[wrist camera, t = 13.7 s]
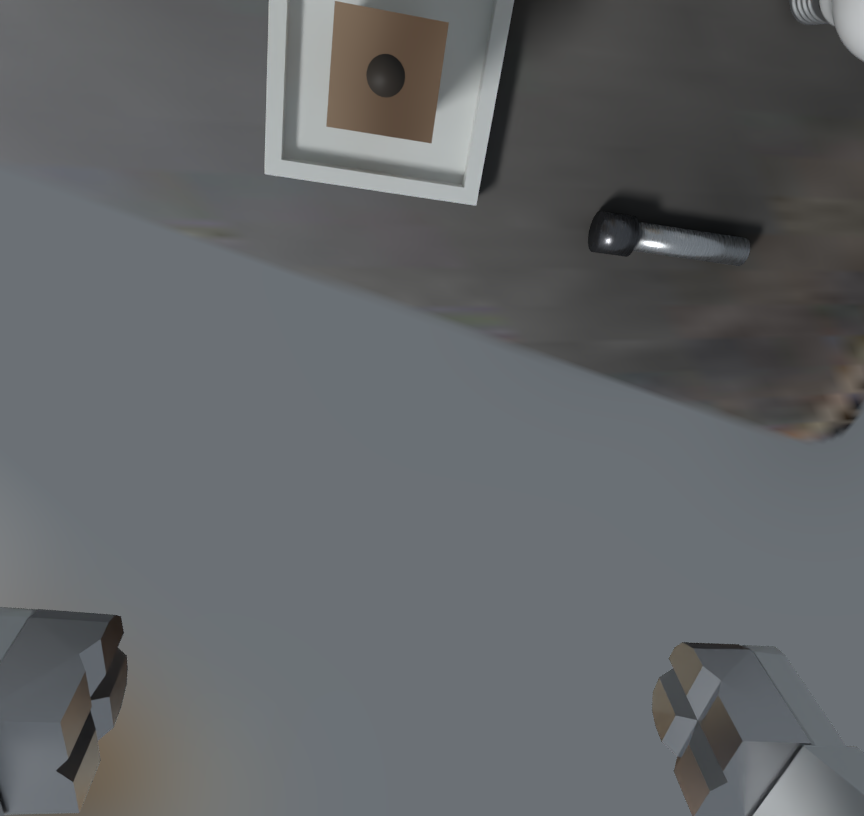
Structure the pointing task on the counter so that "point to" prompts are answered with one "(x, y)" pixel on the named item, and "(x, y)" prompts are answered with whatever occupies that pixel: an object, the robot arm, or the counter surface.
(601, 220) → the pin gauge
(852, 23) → the lightbulb
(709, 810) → the robot arm
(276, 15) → the tray
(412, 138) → the block
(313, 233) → the counter surface
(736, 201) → the counter surface
